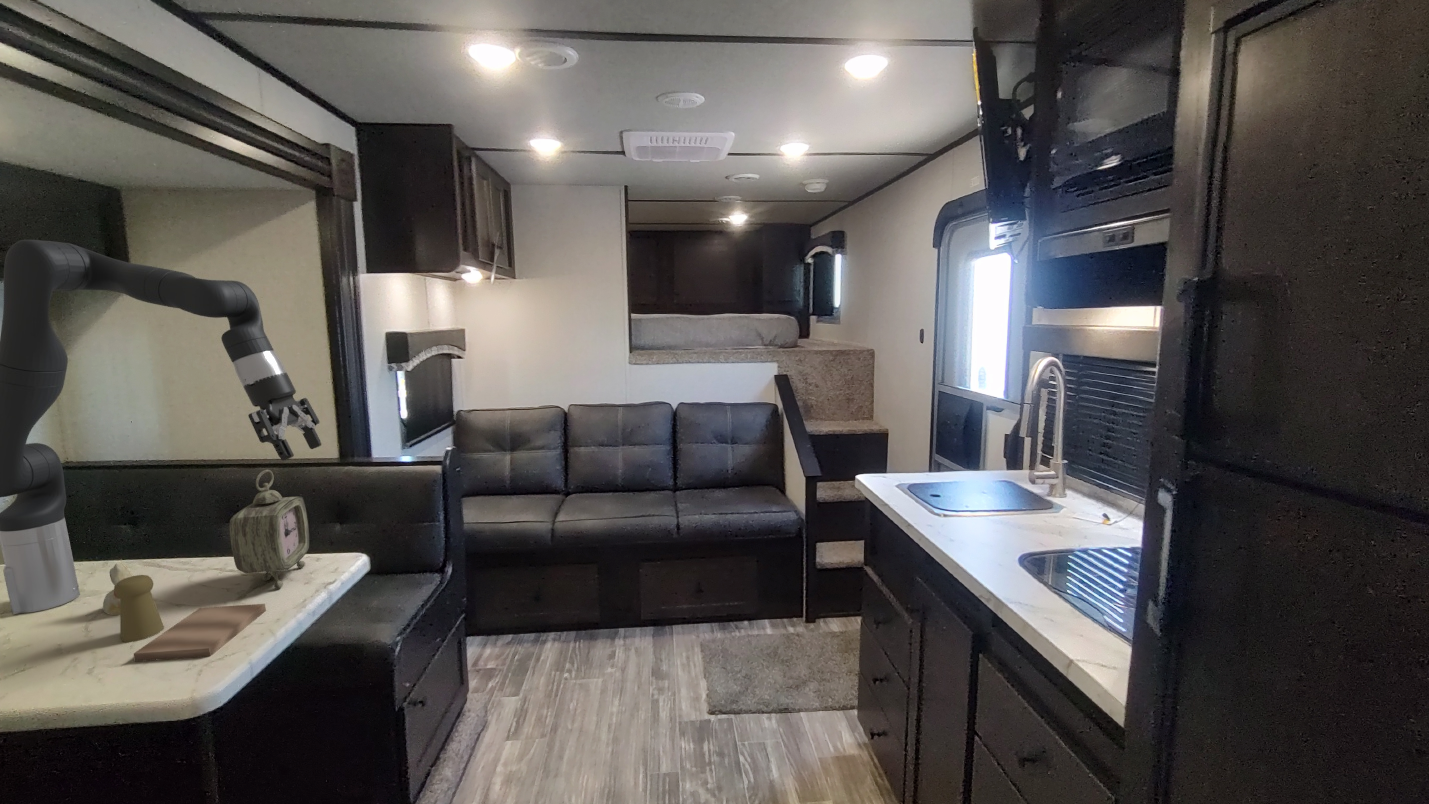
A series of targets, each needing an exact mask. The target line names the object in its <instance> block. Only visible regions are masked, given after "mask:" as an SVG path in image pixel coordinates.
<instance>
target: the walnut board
mask: <svg viewBox="0 0 1429 804" xmlns="http://www.w3.org/2000/svg"><path fill="white" fill-rule="evenodd" d="M266 611H267V609H266V603H254V604H252V603H251V604H242V605H241V604H240V605H239V604H238V605H237V604H236V605H223V606H208V607H199V608H197V609H196V610H195V611H193V612H192V613H190V614H188V615H187V616H186V617H185V618H182V619H181V620H179V621H178V622H177V623H176V624H175V625H173V626H172V627H169V629H167V630H166V631H165V632H162V633H161V634H159V636H157V637H156V638H154V639H152V640H151V641H150V642H148V643H147V644H146V645H144V646H142V647H141V648H140V649H138V650H136V651H135V652H134V653H133V658H134V662H144V661H143V660H149V661H157V660H156V659H163V660H174V659H173V658H177V659H189V657H190V658H203V657H204V658H205V657H211V656H213V654H215V653H216V652H218V650H220V649H221V648H223V646H225V645H226V644H227V643H229V642H230V641H231V640H232V639H233V638H234V637H236V636H237V635H238V634H239V633H241V632H242V631H243V630H244V629H246V626H247V625H248V626H249V625H251V624H252V623H253V622H254V621H256V620H257V619H258V618H259V617H260V616H262V615H263V614H264V613H265V612H266ZM257 617H258V618H257ZM252 621H253V622H252ZM251 622H252V623H251ZM248 626H247V627H248Z"/></svg>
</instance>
